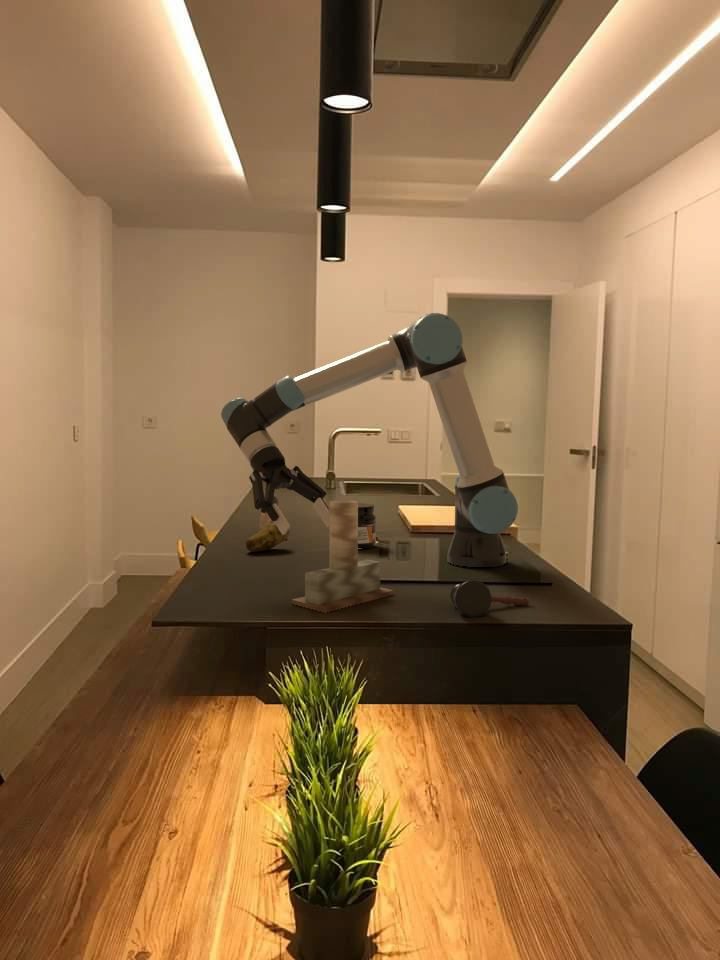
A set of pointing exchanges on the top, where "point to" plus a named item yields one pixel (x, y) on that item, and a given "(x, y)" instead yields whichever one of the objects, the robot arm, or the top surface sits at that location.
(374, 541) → the supplement container
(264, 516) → the figurine
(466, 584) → the coffee pot
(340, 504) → the rod
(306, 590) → the stand
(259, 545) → the potato
